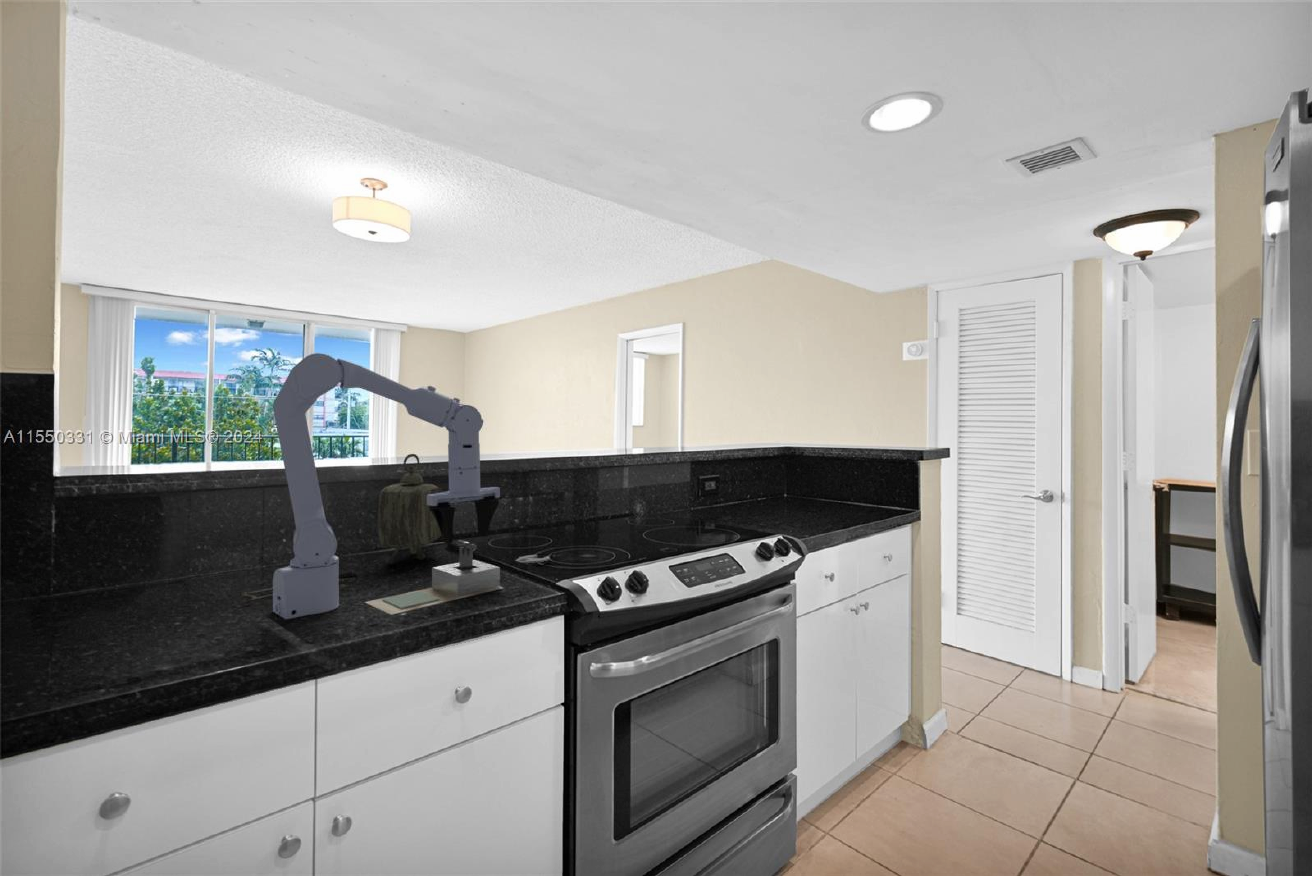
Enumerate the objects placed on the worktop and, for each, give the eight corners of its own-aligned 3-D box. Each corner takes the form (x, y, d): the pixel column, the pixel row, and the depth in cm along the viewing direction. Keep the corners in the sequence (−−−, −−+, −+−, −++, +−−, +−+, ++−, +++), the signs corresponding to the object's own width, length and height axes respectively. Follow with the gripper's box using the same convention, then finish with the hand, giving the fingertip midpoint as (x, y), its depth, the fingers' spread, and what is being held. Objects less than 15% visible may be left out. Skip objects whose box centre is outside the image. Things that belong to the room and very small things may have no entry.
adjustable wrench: (449, 584, 127) (449, 576, 127) (436, 578, 132) (436, 570, 132) (553, 564, 144) (553, 557, 144) (538, 560, 149) (538, 552, 149)
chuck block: (457, 597, 112) (457, 576, 112) (432, 588, 118) (432, 567, 118) (499, 587, 119) (499, 567, 119) (473, 579, 125) (473, 559, 125)
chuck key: (469, 584, 115) (469, 545, 115) (453, 579, 119) (453, 541, 119) (480, 582, 117) (480, 543, 117) (464, 576, 121) (464, 539, 121)
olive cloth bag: (410, 552, 154) (410, 452, 153) (445, 553, 153) (445, 452, 152) (378, 566, 139) (377, 455, 138) (416, 567, 138) (416, 456, 138)
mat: (401, 609, 105) (401, 607, 105) (382, 600, 110) (382, 599, 110) (439, 600, 110) (439, 598, 110) (419, 592, 115) (419, 591, 115)
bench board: (391, 621, 102) (391, 614, 102) (364, 608, 109) (364, 602, 109) (503, 594, 119) (503, 587, 119) (474, 584, 125) (474, 578, 125)
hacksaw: (355, 575, 133) (355, 568, 133) (375, 585, 126) (375, 577, 126) (221, 598, 115) (221, 590, 115) (234, 610, 108) (234, 602, 108)
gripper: (440, 472, 109) (442, 548, 110) (508, 466, 120) (509, 535, 121) (420, 470, 114) (421, 543, 115) (487, 464, 125) (488, 531, 126)
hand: (465, 539), depth 118 cm, fingers open, 7 cm apart
